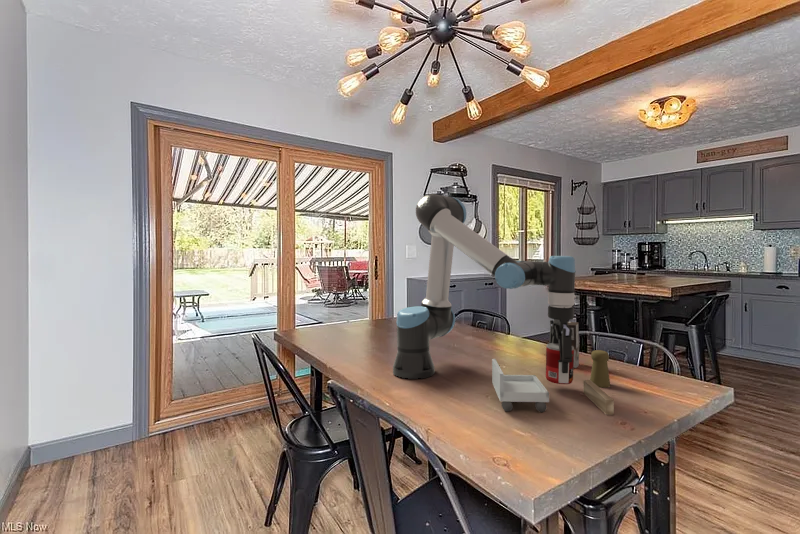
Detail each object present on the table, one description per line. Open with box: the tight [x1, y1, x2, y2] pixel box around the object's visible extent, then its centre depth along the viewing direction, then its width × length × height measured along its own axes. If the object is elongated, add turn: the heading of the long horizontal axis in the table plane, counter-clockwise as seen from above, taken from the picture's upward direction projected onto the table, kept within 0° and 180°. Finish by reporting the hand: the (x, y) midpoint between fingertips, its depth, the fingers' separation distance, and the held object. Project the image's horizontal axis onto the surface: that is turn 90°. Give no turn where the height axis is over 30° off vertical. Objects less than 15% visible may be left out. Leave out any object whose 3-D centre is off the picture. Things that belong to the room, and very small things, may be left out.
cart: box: [491, 358, 550, 413], centre depth 115 cm, size 13×15×10 cm
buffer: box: [582, 379, 615, 416], centre depth 113 cm, size 2×16×4 cm, turn 175°
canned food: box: [545, 342, 574, 385], centre depth 124 cm, size 8×8×11 cm
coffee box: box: [568, 321, 580, 369], centre depth 150 cm, size 9×6×16 cm
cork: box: [589, 349, 611, 389], centre depth 128 cm, size 6×6×11 cm
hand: (559, 377), depth 124 cm, fingers closed on canned food, 8 cm apart
